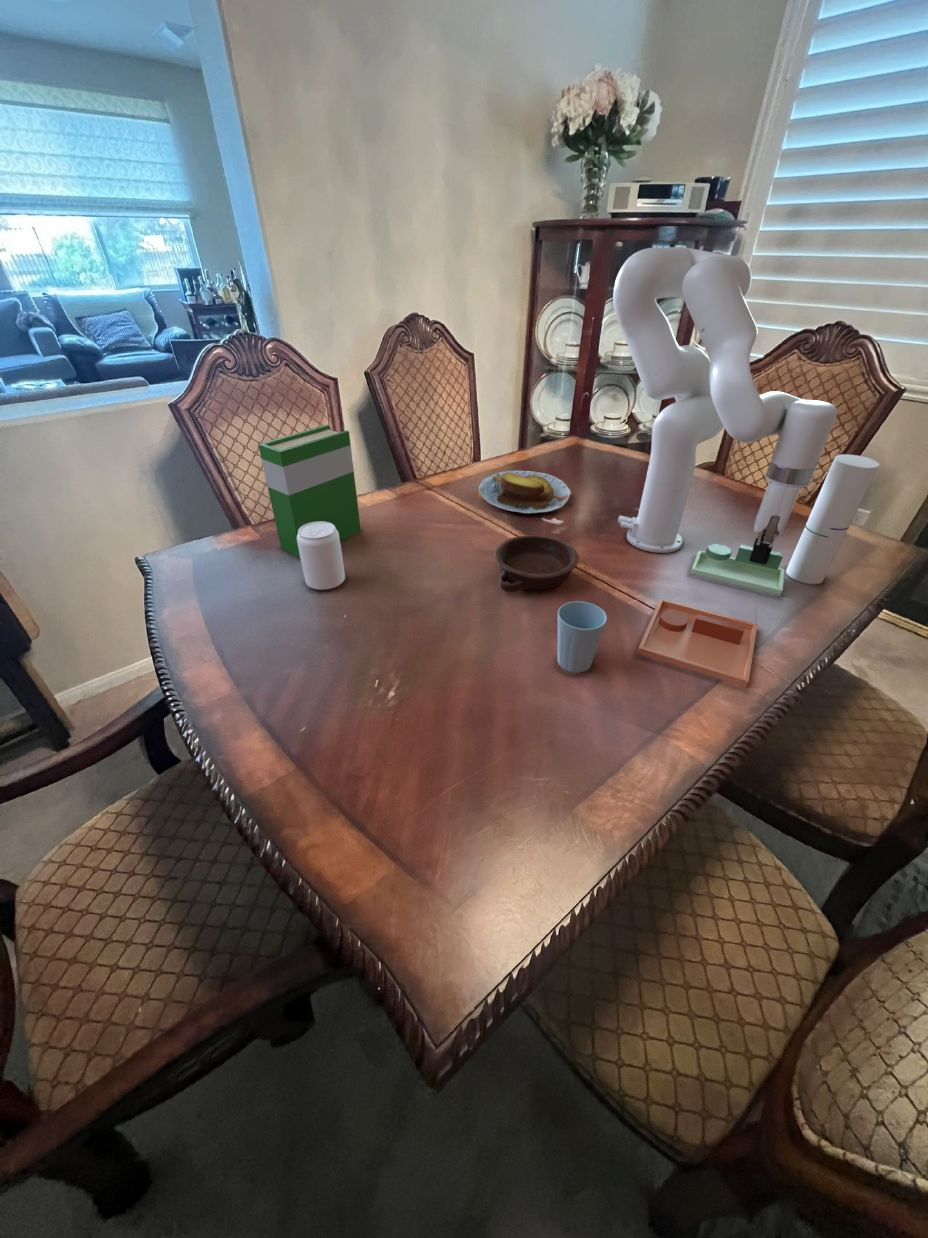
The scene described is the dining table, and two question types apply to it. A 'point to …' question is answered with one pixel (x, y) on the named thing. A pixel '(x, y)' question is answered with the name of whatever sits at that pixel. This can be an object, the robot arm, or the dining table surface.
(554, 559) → the dish
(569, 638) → the cup
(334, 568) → the beverage can
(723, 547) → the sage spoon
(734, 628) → the terracotta cylinder and block
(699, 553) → the sage tray
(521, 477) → the food on plate
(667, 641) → the terracotta tray
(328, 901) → the dining table surface
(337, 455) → the hardback book
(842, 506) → the cylindrical container
